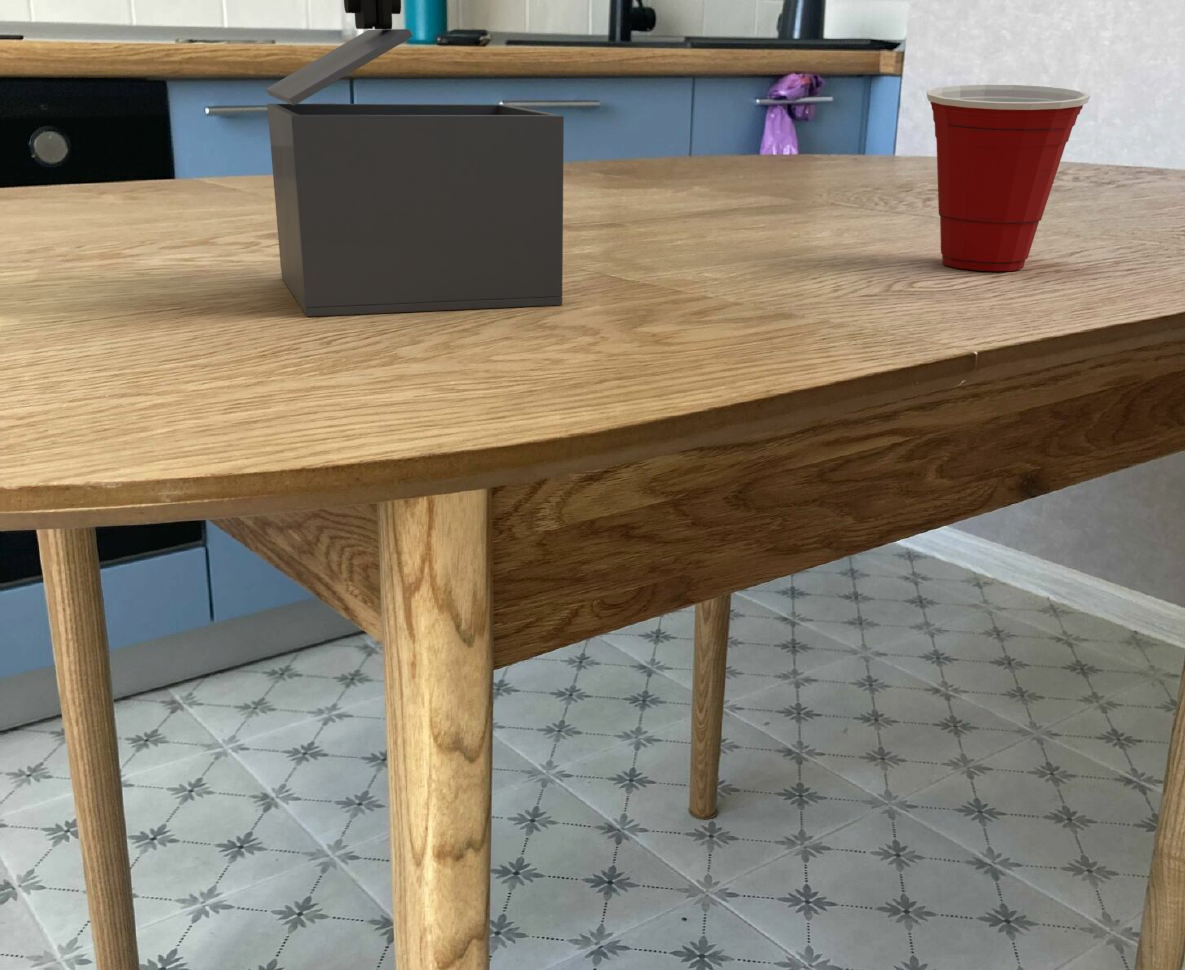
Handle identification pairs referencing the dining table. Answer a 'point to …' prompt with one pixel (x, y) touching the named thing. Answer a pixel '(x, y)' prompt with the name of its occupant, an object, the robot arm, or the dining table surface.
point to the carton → (418, 206)
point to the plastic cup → (997, 167)
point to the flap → (337, 64)
